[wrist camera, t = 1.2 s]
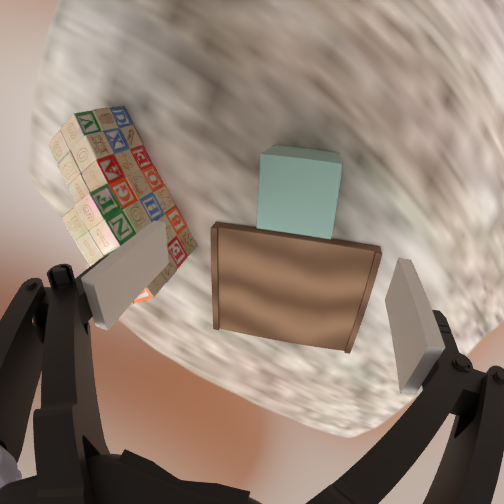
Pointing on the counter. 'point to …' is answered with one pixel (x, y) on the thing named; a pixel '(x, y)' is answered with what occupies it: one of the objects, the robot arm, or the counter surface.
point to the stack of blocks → (115, 190)
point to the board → (290, 285)
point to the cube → (298, 190)
